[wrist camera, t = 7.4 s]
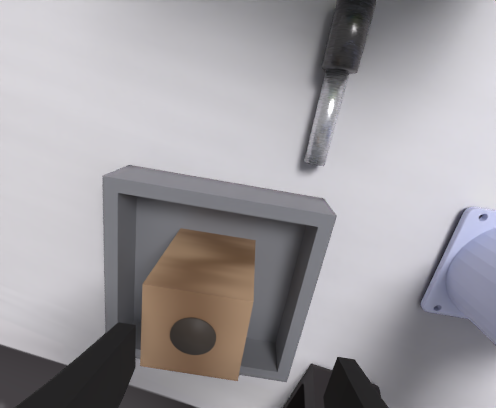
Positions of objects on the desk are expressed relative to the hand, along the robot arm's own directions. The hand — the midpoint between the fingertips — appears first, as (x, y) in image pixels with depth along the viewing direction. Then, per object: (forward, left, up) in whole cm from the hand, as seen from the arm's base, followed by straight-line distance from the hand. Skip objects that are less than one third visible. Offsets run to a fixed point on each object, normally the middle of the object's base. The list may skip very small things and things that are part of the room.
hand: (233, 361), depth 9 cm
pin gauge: (-3, -11, -9) cm, 14 cm away
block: (+2, +2, -9) cm, 9 cm away
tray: (+2, +2, -9) cm, 10 cm away
